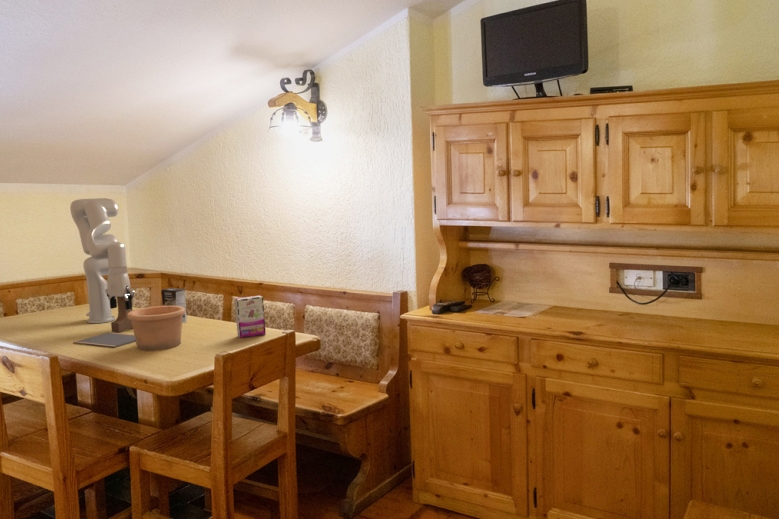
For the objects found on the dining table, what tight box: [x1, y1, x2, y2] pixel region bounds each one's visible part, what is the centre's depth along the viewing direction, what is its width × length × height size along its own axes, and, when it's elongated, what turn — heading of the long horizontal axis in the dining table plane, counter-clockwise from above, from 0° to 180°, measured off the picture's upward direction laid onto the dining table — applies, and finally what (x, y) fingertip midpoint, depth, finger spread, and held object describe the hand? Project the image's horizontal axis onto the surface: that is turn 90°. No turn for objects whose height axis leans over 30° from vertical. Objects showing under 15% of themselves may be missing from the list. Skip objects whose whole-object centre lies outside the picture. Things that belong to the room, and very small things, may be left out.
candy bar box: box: [234, 295, 266, 339], centre depth 270 cm, size 11×5×16 cm, turn 117°
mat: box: [72, 331, 136, 349], centre depth 270 cm, size 24×18×1 cm
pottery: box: [127, 305, 185, 352], centre depth 258 cm, size 22×22×14 cm
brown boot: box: [110, 296, 133, 333], centre depth 288 cm, size 9×4×18 cm, turn 155°
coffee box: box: [161, 287, 188, 324], centre depth 301 cm, size 9×6×16 cm
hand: (121, 308), depth 288 cm, fingers open, 9 cm apart
